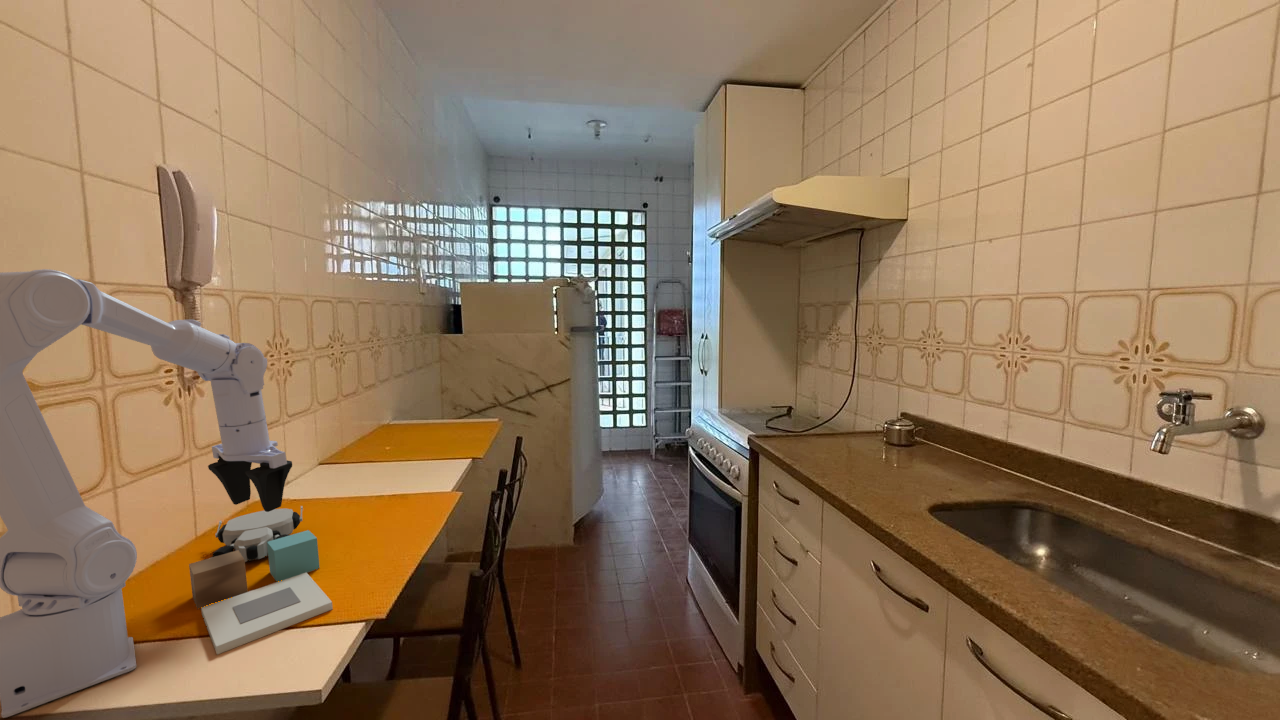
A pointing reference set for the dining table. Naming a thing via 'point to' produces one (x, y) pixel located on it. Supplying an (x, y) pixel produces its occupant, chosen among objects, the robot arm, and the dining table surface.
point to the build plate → (263, 611)
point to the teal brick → (293, 555)
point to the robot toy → (256, 532)
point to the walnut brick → (218, 578)
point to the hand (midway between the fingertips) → (257, 505)
